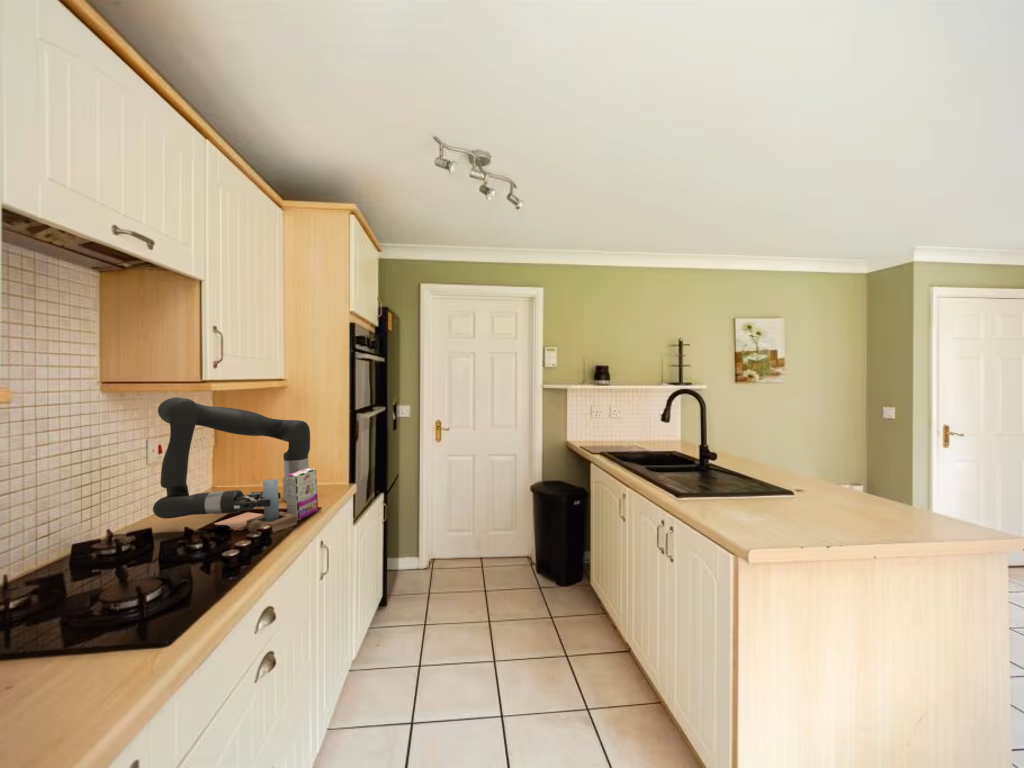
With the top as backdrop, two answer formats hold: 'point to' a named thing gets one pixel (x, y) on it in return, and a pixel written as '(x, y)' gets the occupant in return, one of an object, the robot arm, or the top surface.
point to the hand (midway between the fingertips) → (275, 499)
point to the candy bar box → (302, 493)
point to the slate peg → (271, 493)
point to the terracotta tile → (238, 521)
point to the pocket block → (273, 522)
